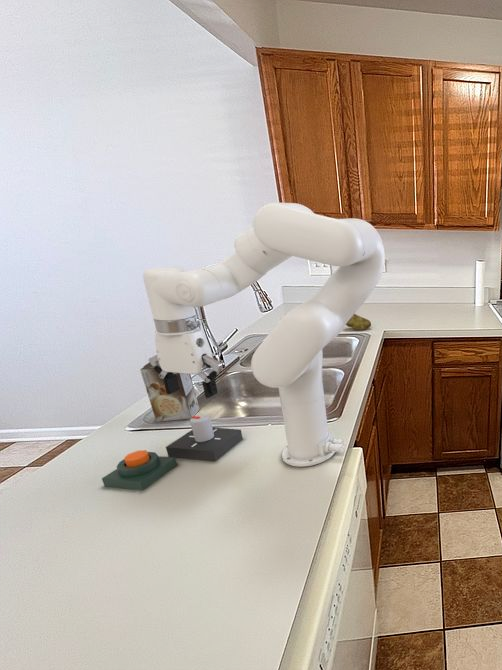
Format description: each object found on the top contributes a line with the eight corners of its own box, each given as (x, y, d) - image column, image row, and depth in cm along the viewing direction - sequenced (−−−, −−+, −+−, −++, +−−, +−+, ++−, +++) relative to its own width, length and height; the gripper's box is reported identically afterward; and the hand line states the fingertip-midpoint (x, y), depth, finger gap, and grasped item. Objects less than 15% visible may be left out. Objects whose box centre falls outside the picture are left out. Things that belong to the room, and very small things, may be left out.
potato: (366, 332, 195) (364, 316, 192) (341, 330, 196) (340, 314, 193) (372, 327, 202) (371, 312, 199) (349, 326, 204) (347, 310, 201)
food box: (200, 408, 118) (188, 358, 112) (192, 419, 112) (179, 366, 107) (164, 411, 116) (150, 360, 110) (154, 422, 110) (138, 369, 104)
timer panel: (243, 439, 104) (240, 428, 102) (215, 462, 94) (212, 450, 93) (200, 435, 105) (197, 425, 103) (168, 457, 95) (165, 446, 94)
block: (177, 465, 93) (173, 450, 91) (143, 490, 84) (138, 475, 83) (142, 462, 93) (137, 447, 92) (104, 487, 85) (98, 471, 83)
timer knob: (218, 434, 100) (213, 413, 98) (206, 442, 96) (201, 421, 94) (203, 432, 100) (198, 412, 98) (190, 441, 97) (185, 420, 95)
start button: (154, 457, 89) (152, 451, 88) (138, 468, 85) (136, 461, 85) (138, 456, 89) (135, 449, 89) (121, 466, 86) (118, 460, 85)
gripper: (225, 323, 91) (237, 390, 97) (155, 317, 92) (171, 384, 98) (200, 332, 84) (215, 404, 90) (125, 326, 85) (145, 397, 91)
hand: (192, 393), depth 94 cm, fingers open, 9 cm apart
